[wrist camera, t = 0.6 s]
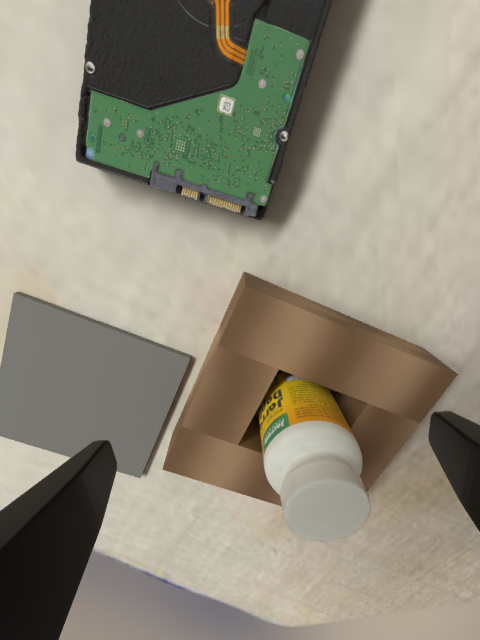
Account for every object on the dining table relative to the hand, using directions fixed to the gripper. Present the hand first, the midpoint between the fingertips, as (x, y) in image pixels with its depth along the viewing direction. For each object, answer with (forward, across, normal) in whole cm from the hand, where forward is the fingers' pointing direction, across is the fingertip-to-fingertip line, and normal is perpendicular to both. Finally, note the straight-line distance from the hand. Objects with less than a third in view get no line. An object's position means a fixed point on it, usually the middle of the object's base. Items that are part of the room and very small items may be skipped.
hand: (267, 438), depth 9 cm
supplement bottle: (+13, -2, +7) cm, 15 cm away
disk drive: (+13, +1, -14) cm, 19 cm away
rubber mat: (+12, +13, +6) cm, 19 cm away
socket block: (+13, -2, +7) cm, 15 cm away
